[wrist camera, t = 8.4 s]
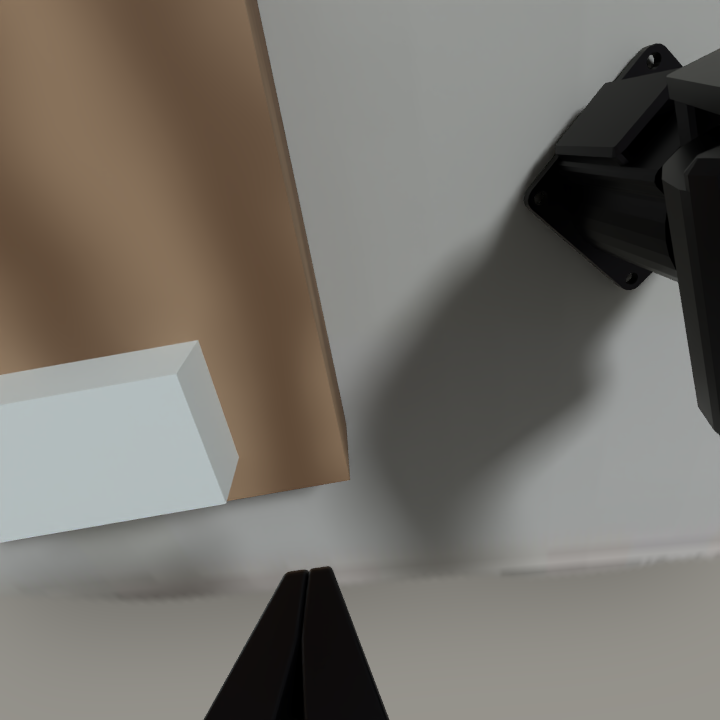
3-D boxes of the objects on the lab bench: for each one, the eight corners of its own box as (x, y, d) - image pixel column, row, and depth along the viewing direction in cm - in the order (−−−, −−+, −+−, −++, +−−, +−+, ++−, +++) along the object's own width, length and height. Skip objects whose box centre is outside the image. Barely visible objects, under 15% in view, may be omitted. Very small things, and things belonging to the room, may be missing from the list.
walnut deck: (245, -54, 14) (217, -119, 11) (346, 424, 22) (350, 479, 18) (-254, 40, 14) (-448, 7, 11) (21, 480, 22) (-37, 546, 19)
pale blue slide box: (198, 340, 15) (175, 374, 13) (238, 457, 18) (226, 503, 15) (-33, 380, 16) (-94, 421, 13) (36, 492, 18) (-6, 543, 16)
